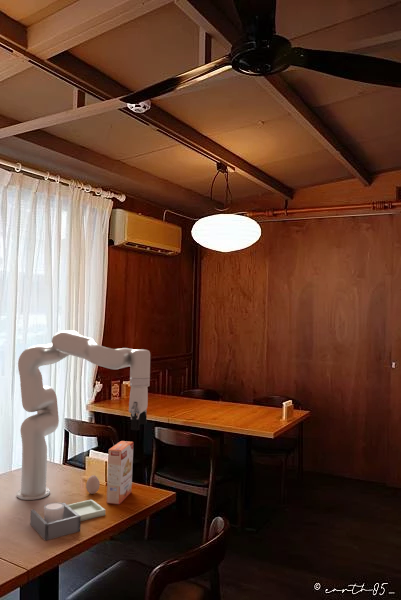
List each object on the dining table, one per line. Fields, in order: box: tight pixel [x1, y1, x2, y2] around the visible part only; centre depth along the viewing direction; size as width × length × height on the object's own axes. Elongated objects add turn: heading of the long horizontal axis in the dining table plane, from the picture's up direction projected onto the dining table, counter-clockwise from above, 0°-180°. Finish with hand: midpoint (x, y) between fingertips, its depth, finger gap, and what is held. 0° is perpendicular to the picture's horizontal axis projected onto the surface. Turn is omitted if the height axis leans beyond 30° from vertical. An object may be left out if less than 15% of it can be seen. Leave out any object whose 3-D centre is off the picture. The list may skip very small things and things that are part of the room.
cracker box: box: [106, 440, 134, 505], centre depth 196 cm, size 14×6×21 cm, turn 168°
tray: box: [67, 498, 106, 522], centre depth 180 cm, size 12×12×2 cm
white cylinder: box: [43, 502, 64, 523], centre depth 169 cm, size 7×7×7 cm
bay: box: [29, 501, 82, 541], centre depth 168 cm, size 14×12×5 cm
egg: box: [85, 474, 100, 495], centre depth 199 cm, size 5×5×7 cm
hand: (138, 427), depth 187 cm, fingers open, 9 cm apart
